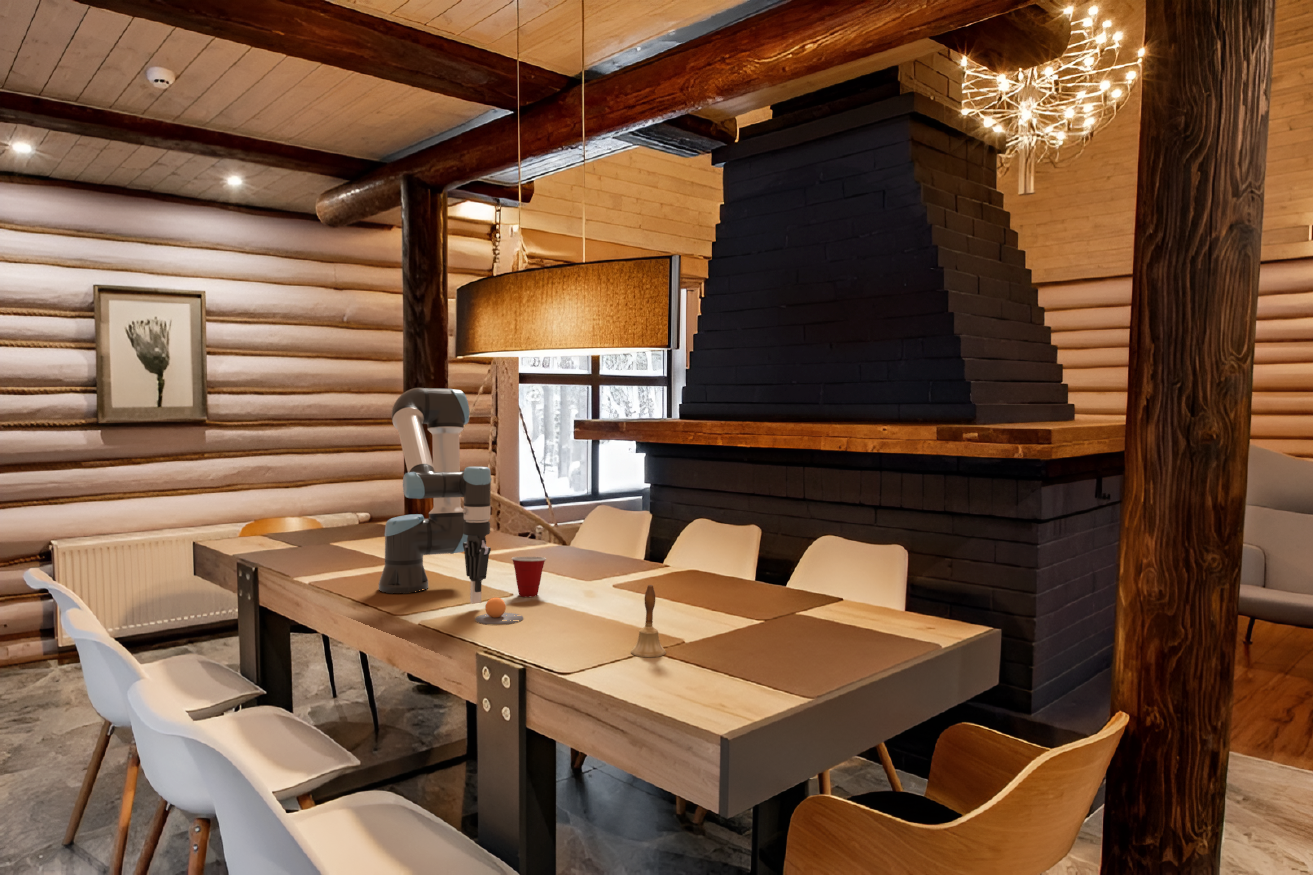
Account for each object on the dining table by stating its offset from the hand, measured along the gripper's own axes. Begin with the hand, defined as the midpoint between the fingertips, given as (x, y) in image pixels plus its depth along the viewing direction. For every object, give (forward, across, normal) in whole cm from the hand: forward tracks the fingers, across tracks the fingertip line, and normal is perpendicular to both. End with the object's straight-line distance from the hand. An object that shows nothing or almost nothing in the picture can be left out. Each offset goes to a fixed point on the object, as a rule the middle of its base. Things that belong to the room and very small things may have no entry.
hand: (475, 602), depth 232 cm
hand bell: (+2, +63, +13) cm, 64 cm away
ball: (-1, +12, 0) cm, 12 cm away
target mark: (+2, +14, 0) cm, 14 cm away
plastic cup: (+2, -8, +22) cm, 24 cm away
